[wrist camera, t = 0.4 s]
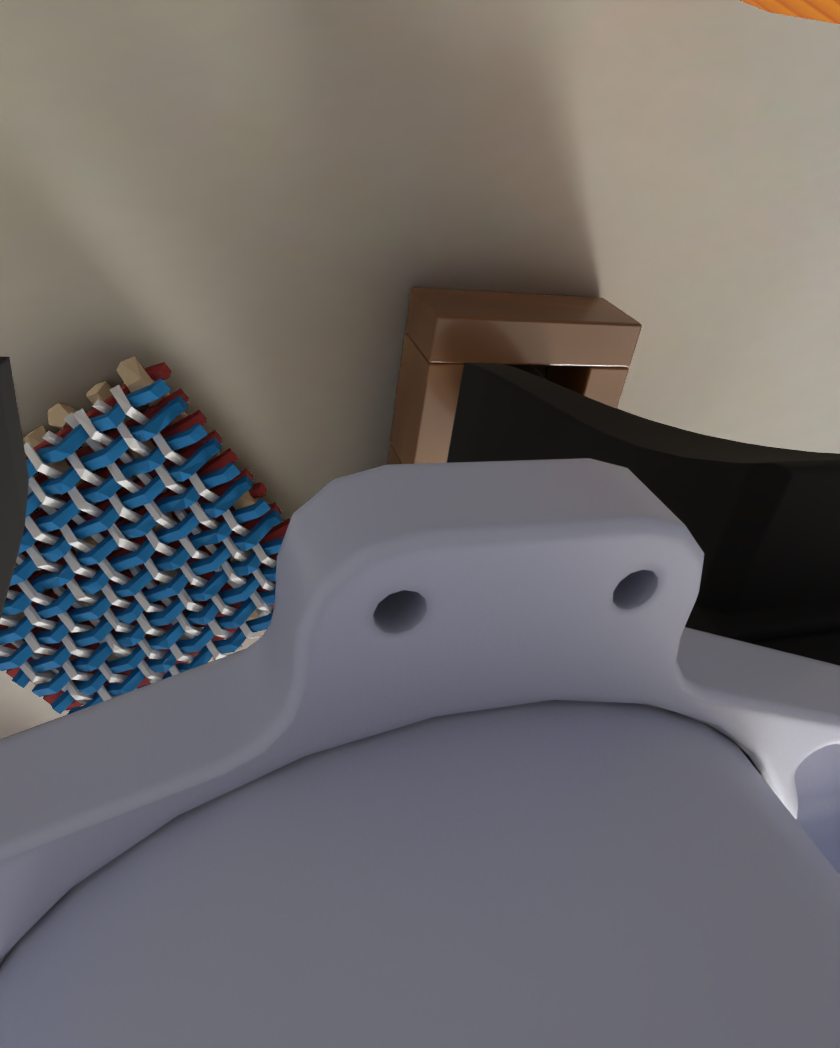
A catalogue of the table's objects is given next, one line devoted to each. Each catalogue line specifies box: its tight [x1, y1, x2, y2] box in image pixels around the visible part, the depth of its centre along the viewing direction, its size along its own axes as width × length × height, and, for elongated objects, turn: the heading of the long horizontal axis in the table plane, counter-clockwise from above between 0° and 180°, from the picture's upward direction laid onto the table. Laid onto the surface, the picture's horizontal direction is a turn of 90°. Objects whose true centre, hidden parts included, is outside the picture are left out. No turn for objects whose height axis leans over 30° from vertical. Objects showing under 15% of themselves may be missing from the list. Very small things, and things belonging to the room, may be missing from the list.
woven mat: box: [0, 357, 290, 715], centre depth 24 cm, size 10×11×2 cm
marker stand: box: [387, 288, 642, 465], centre depth 28 cm, size 17×7×2 cm, turn 171°
